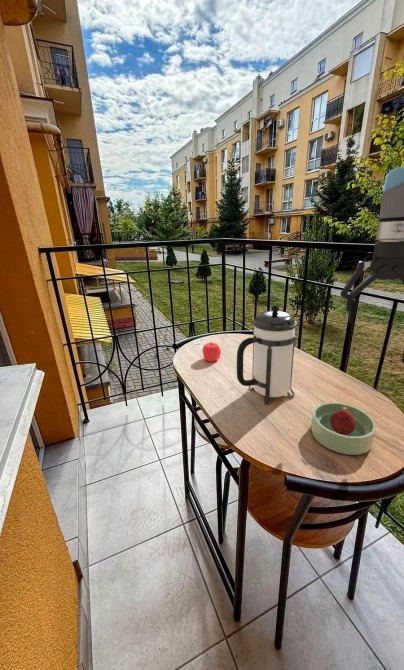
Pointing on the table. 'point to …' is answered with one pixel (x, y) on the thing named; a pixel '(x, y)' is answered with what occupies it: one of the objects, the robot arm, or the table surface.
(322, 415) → the bowl
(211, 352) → the apple
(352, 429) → the onion
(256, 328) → the coffee press
